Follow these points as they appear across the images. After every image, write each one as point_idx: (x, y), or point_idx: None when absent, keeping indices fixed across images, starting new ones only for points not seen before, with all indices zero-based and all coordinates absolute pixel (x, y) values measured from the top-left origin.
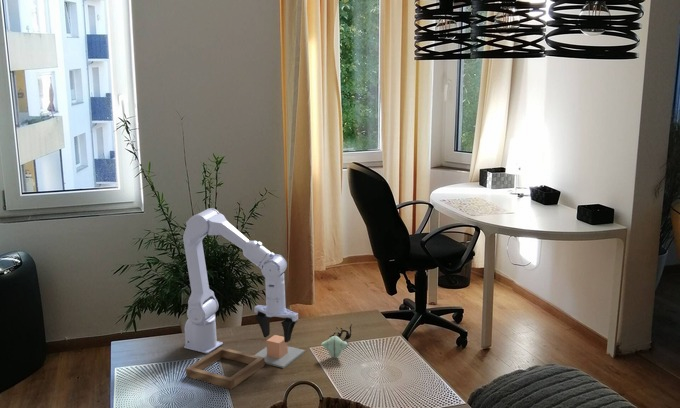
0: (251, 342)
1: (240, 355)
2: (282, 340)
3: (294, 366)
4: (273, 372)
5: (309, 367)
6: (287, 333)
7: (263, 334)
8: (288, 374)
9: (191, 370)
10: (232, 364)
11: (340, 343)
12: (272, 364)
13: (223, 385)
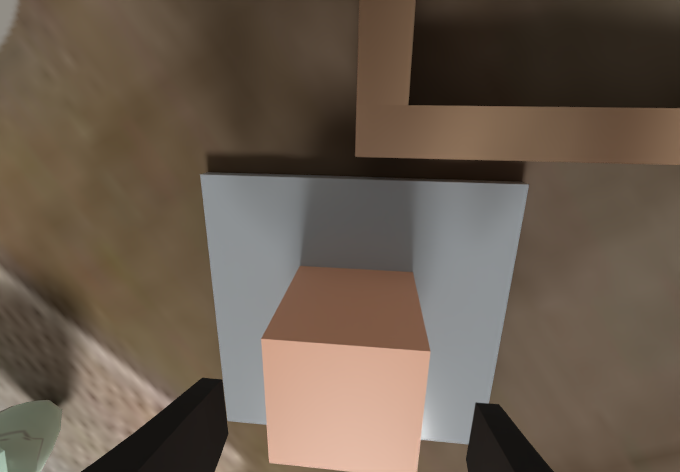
0: (644, 416)
1: (625, 108)
2: (270, 402)
3: (164, 228)
4: (229, 77)
5: (78, 255)
6: (94, 469)
7: (510, 426)
8: (117, 103)
9: None
10: (645, 32)
11: None
12: (303, 177)
13: None
